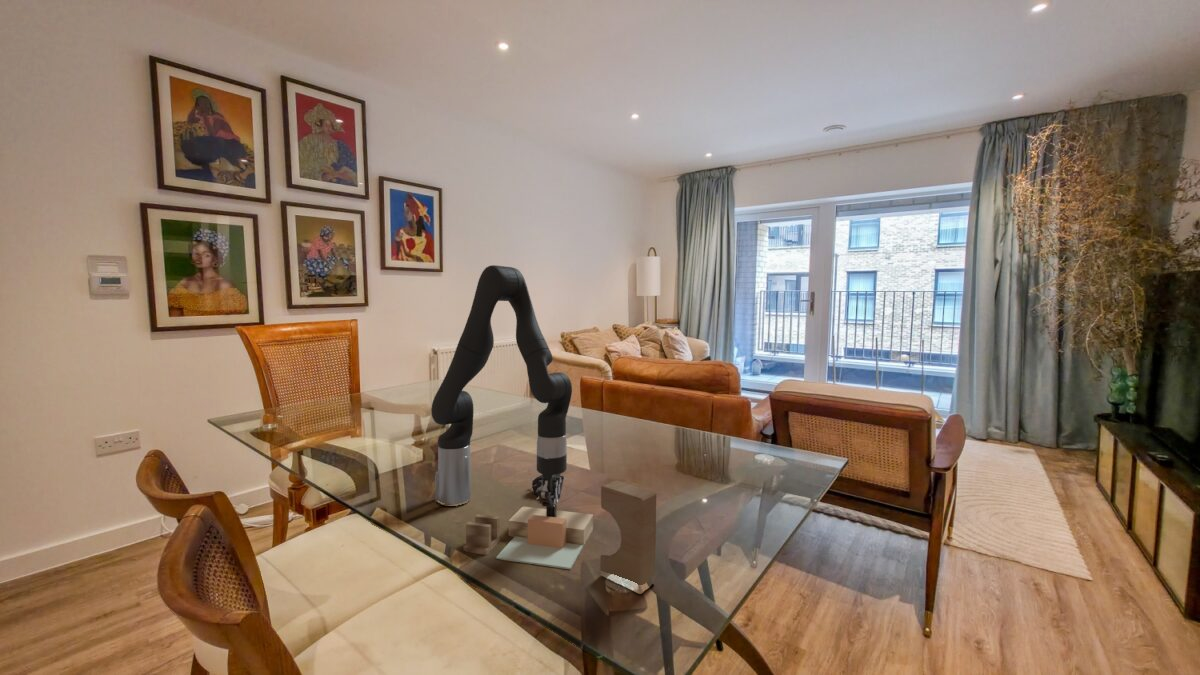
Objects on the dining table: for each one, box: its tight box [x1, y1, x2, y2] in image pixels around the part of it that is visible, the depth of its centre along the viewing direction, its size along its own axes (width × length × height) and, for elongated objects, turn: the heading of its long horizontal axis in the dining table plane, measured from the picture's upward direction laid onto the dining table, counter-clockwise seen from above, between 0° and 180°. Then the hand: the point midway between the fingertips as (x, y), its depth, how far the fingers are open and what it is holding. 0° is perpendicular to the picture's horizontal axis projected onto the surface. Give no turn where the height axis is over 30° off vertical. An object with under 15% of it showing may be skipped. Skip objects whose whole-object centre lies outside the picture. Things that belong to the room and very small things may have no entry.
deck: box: [508, 506, 594, 547], centre depth 120 cm, size 20×9×4 cm, turn 76°
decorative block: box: [599, 479, 657, 585], centre depth 99 cm, size 11×6×20 cm, turn 49°
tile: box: [528, 515, 566, 548], centre depth 114 cm, size 9×6×3 cm
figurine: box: [531, 474, 543, 501], centre depth 145 cm, size 7×6×15 cm
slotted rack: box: [463, 513, 503, 556], centre depth 113 cm, size 6×8×6 cm
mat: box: [495, 536, 584, 570], centre depth 110 cm, size 18×10×1 cm, turn 76°
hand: (551, 519), depth 117 cm, fingers closed
